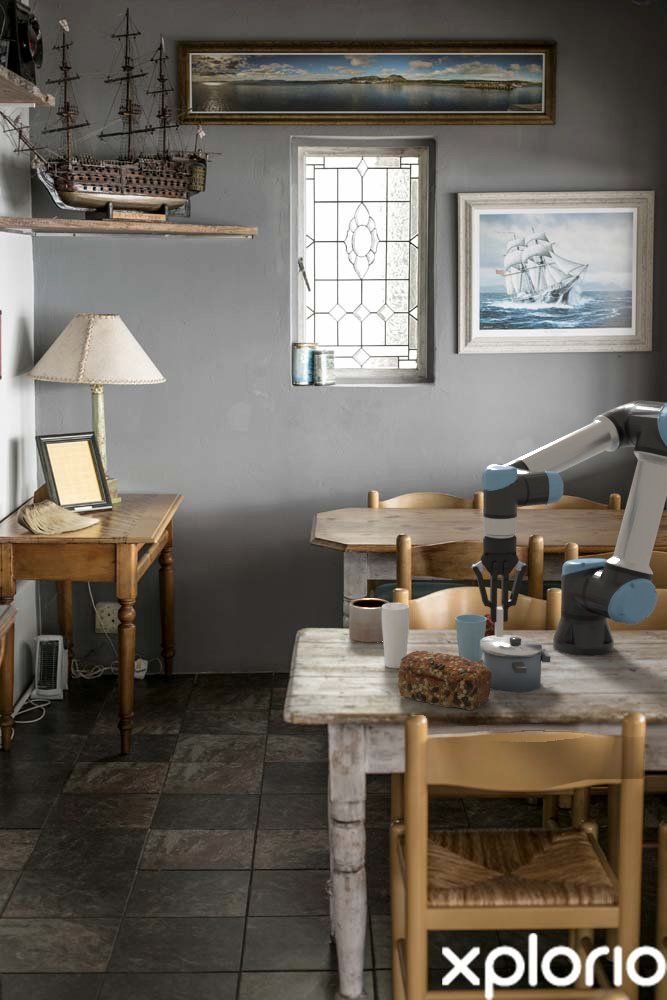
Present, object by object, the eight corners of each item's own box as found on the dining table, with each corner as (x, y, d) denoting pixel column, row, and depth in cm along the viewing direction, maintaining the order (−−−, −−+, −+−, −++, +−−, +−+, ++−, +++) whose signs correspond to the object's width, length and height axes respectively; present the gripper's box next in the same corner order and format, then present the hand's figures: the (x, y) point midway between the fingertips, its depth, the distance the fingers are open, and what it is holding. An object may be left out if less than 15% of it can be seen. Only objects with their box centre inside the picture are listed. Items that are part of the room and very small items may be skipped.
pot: (537, 668, 270) (538, 636, 268) (556, 698, 249) (557, 663, 248) (477, 669, 270) (477, 637, 268) (491, 699, 249) (491, 664, 247)
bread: (396, 699, 250) (396, 655, 248) (418, 685, 259) (418, 643, 257) (473, 713, 240) (474, 668, 239) (493, 699, 249) (493, 655, 248)
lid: (536, 640, 265) (537, 631, 265) (549, 658, 251) (549, 648, 251) (475, 639, 265) (476, 629, 264) (484, 656, 251) (485, 646, 250)
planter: (391, 644, 291) (391, 608, 289) (349, 644, 291) (349, 608, 289) (389, 632, 301) (389, 597, 300) (349, 632, 302) (349, 598, 300)
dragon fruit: (490, 657, 284) (479, 650, 296) (516, 636, 285) (503, 630, 297) (470, 631, 284) (459, 625, 295) (496, 610, 284) (484, 605, 296)
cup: (454, 663, 275) (454, 621, 273) (455, 653, 282) (455, 613, 280) (485, 664, 274) (486, 622, 272) (485, 654, 281) (486, 614, 279)
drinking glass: (407, 670, 269) (407, 610, 266) (379, 669, 270) (379, 608, 268) (411, 662, 275) (411, 603, 273) (383, 660, 276) (383, 601, 274)
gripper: (525, 530, 257) (524, 630, 261) (468, 532, 257) (468, 631, 261) (531, 537, 250) (530, 639, 254) (473, 538, 250) (472, 640, 254)
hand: (498, 635), depth 257 cm, fingers closed
